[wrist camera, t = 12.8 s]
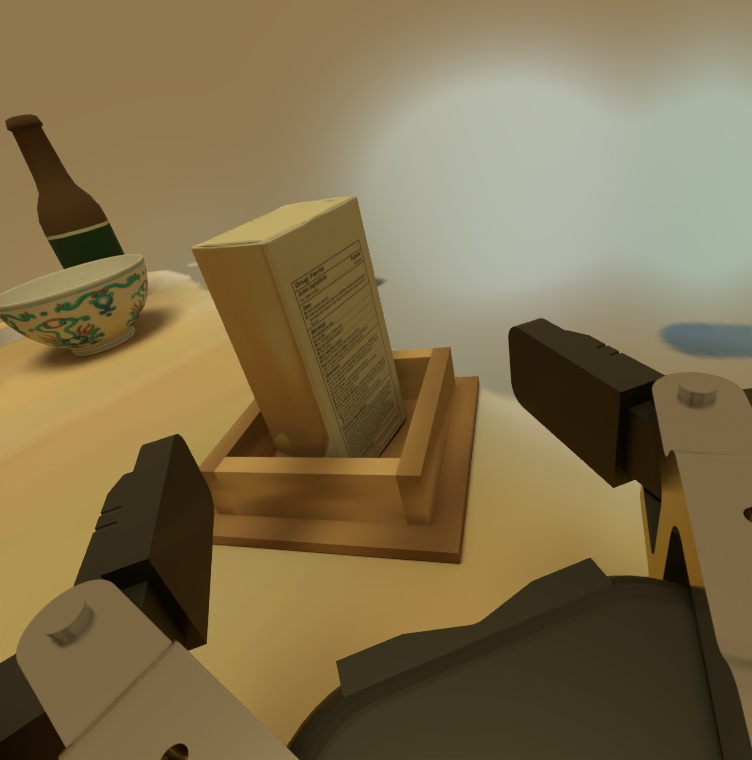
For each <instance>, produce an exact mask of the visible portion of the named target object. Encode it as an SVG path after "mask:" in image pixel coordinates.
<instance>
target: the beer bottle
mask: <svg viewBox="0 0 752 760" xmlns="http://www.w3.org/2000/svg"><path fill="white" fill-rule="evenodd" d="M42 125H43V123H42V122H41V121H40V120H39V119H38V117H37V116H35V115H31V114H29V115H20V116H15V117H11V118H9V119H7V120H6V126H7V129H8V130H9V131H11V132H12V133H13V135H14V137H15V139H16V141H17V143H18V145H19V148H20V150H21V152H22V154H23V156H24V158H25V161H26V163H27V165H28V167H29V169H30V171H31V173H32V175H33V178H34V180H35V183H36V186H37V189H38V192H39V198H38V206H37V211H38V216H39V223H40V225H41V227H42V229H43V231H44V233H45V236H46V238H47V239H48V241H49V243H50V245H51V246H52V248H53V250H54V252H55V254H56V256H57V257H58V259H59V261H60V263H61V265H62V266H63V268H64V269H67V268H70V267H74V266H77V265H81V264H84V263H88V262H92V261H96V260H100V259H104V258H109V257H114V256H119V255H125V254H124V252H123V250H122V248H121V246H120V244H119V242H118V240H117V238H116V236H115V234H114V231H113V229H112V227H111V225H110V223H109V221H108V219H107V217H106V216H105V214H104V212H103V210H102V209H101V207H100V206H99V204H98V203H96V201H95V200H94V199H93V198H92V197H91V196H90V195H89V194H88V193H86V192H85V191H83V190H82V189H81V188H80V187H78V186H77V185H76V184H75V183H74V182H73V180H72V179H71V177H70V176H69V174H68V173H67V171H66V170H65V168H64V166H63V164H62V163H61V161H60V159H59V157H58V156H57V154H56V152H55V150H54V149H53V147H52V145H51V143H50V142H49V140H48V138H47V136H46V135H45V133H44V131H43V129H42V128H41V127H42Z"/></svg>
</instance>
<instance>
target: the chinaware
mask: <svg viewBox="0 0 752 760" xmlns="http://www.w3.org/2000/svg"><path fill="white" fill-rule="evenodd" d="M147 291H148V280H147V272H146V266H145V262H144V259H143V256H142V255H140V254H127V255H119V256H114V257H109V258H104V259H100V260H96V261H92V262H88V263H84V264H81V265H77V266H74V267H70V268H67V269H64V270H61V271H58V272H55V273H52V274H49V275H46V276H43V277H40V278H37V279H34V280H32V281H29V282H27V283H24V284H22V285H19V286H17V287H14V288H12V289H10V290H8V291H6V292H3V293H2V294H0V319H1V320H2V321H4V322H5V323H6V324H7V325H9V326H10V327H11V328H13V329H14V330H15V331H17V332H19V333H20V334H22V335H24V336H25V337H27V338H30V339H32V340H34V341H37V342H39V343H42V344H45V345H49V346H53V347H59V348H67V349H71V351H72V352H73V354H74V355H76V356H87V355H92V354H96V353H100V352H103V351H106V350H108V349H111V348H113V347H116V346H118V345H120V344H122V343H123V342H125V341H127V340H128V339H130V338H131V337H132V336H133V335H134V334H135V332H136V331H135V328H134V326H133V324H134V323H135V322H136V320H137V319H138V317H139V316H140V314H141V312H142V310H143V307H144V305H145V302H146V298H147Z"/></svg>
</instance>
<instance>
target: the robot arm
mask: <svg viewBox="0 0 752 760" xmlns="http://www.w3.org/2000/svg"><path fill="white" fill-rule="evenodd" d="M508 337H509V338H508V340H509V355H510V370H511V383H512V388H513V391H514V394H515V396H516V398H517V400H518V402H519V403H520V404H521V406H522V407H524V408H525V409H526V410H527V411H528V412H529V413H530V414H531V415H532V416H534V417H535V418H536V419H537V420H538V421H539V422H540V423H541V424H542V425H544V426H545V427H546V428H547V429H548V430H549V431H550V432H551V433H553V434H554V435H555V436H556V437H557V438H558V439H559V440H560V441H561V442H563V443H564V444H565V445H566V446H567V447H568V448H569V449H570V450H571V451H573V452H574V453H575V454H576V455H577V456H578V457H579V458H580V459H582V460H583V461H584V462H585V463H586V464H587V465H588V466H589V467H590V468H592V469H593V470H594V471H595V472H596V473H597V474H598V475H599V476H601V477H602V478H603V479H604V480H605V481H606V482H607V483H608V484H609V485H611V486H612V487H613V488H615V487H617V486H620V485H623V484H625V483H628V482H630V481H633V480H636V481H638V482H639V483H640V484H641V491H640V502H641V510H642V519H643V527H644V535H645V544H646V552H647V561H648V571H649V577H641V576H630V575H628V576H606V575H605V574H604V573H603V572H602V570H601V569H600V568H599V567H598V566H597V565H596V563H595V562H594V561H593V560H592V559H591V558H588V559H586V560H583V561H581V562H578V563H576V564H573V565H571V566H568V567H566V568H563V569H561V570H559V571H556V572H554V573H551V574H549V575H546V576H544V577H541V578H539V579H537V580H534V581H532V582H530V583H529V584H528V585H527V586H525V587H524V588H523V589H521V590H520V591H519V592H518V593H516V594H515V595H514V596H513V597H511V598H510V599H509V600H507V601H506V602H505V603H504V604H502V605H501V606H500V607H499V608H497V609H496V610H495V611H493V612H492V613H491V614H490V615H488V616H487V617H486V618H484V619H483V620H482V621H480V622H478V623H476V624H473V625H468V626H460V627H453V628H445V629H438V630H430V631H423V632H415V633H407V634H402V635H399V636H397V637H394V638H392V639H390V640H387V641H385V642H382V643H380V644H377V645H375V646H372V647H370V648H367V649H365V650H363V651H360V652H358V653H355V654H353V655H350V656H348V657H345V658H343V659H341V660H338V661H336V663H337V668H338V673H339V678H340V683H341V685H340V686H339V687H338V688H337V689H335V690H334V691H333V692H332V693H330V694H329V695H328V696H327V697H326V698H325V699H324V700H323V701H322V702H321V703H320V704H319V705H318V706H317V707H316V708H315V709H314V710H313V711H312V712H311V714H310V715H309V716H308V717H307V718H306V720H305V721H304V722H303V723H302V724H301V726H300V727H299V729H298V730H297V732H296V733H295V735H294V736H293V738H292V739H291V740H290V742H289V744H288V745H287V747H286V746H285V745H284V744H282V743H281V742H280V741H279V740H278V739H277V738H276V737H275V736H274V735H273V734H272V733H271V732H270V731H269V730H268V729H267V728H266V727H265V726H264V725H263V724H262V723H261V722H260V721H259V720H258V719H257V718H256V717H255V716H254V715H253V714H252V713H251V712H250V711H249V710H248V709H247V708H246V707H245V706H244V705H243V704H242V703H241V702H240V701H239V700H238V699H237V698H236V697H235V696H233V695H232V694H231V693H230V692H229V691H228V690H227V689H226V688H225V687H224V686H223V685H222V684H221V683H220V682H219V681H218V680H217V679H216V678H215V677H214V676H213V675H212V674H211V673H210V672H209V671H208V670H207V669H206V668H205V667H204V666H203V665H202V664H201V663H200V662H199V661H198V660H197V659H196V658H195V657H194V656H193V655H192V654H191V653H190V652H189V650H192V649H194V648H197V647H200V646H202V645H205V644H207V630H208V613H209V596H210V579H211V562H212V545H213V528H214V503H213V498H212V495H211V491H210V489H209V486H208V484H207V482H206V480H205V479H204V477H203V475H202V473H201V471H200V469H199V467H198V465H197V463H196V461H195V459H194V458H193V456H192V454H191V452H190V450H189V448H188V446H187V444H186V442H185V441H184V439H183V438H182V437H181V436H180V435H179V434H175V435H172V436H169V437H166V438H163V439H160V440H157V441H154V442H151V443H147V444H144V445H142V447H141V449H140V452H139V455H138V458H137V461H136V464H135V467H134V470H133V472H131V473H127V474H124V475H123V476H122V477H121V479H120V480H119V481H118V482H117V483H116V485H115V486H114V487H113V488H112V489H111V491H110V492H109V493H108V495H107V497H106V500H105V503H104V505H103V508H102V511H101V515H102V516H100V517H99V519H98V522H97V524H96V527H95V530H96V532H94V533H93V535H92V538H91V540H90V543H89V546H88V548H87V551H86V554H85V556H84V559H83V562H82V565H81V567H80V570H79V573H78V575H77V578H76V581H75V583H74V586H73V587H72V588H70V589H68V590H67V591H65V592H64V593H62V594H60V595H59V596H58V597H56V598H55V599H53V600H52V601H51V602H50V603H49V604H47V605H46V606H45V607H44V608H43V609H42V610H41V611H40V612H39V613H38V614H37V615H36V616H35V617H34V619H33V620H32V621H31V622H30V624H29V625H28V626H27V628H26V629H25V631H24V633H23V634H22V636H21V638H20V641H19V643H18V646H17V651H16V654H15V655H13V656H11V657H10V658H8V659H7V660H5V661H3V662H2V663H0V760H752V388H751V389H741V388H740V387H739V386H738V385H736V384H735V383H733V382H731V381H729V380H727V379H724V378H722V377H719V376H715V375H711V374H706V373H695V372H684V373H675V374H670V375H667V376H665V375H663V374H661V373H659V372H657V371H656V370H654V369H652V368H650V367H648V366H646V365H644V364H642V363H640V362H638V361H636V360H635V359H633V358H631V357H629V356H627V355H625V354H623V353H621V354H620V353H619V351H617V350H616V349H614V348H612V347H610V346H605V344H604V343H602V342H600V341H599V340H597V339H595V338H593V337H591V336H589V335H585V334H581V333H576V332H572V331H565V330H563V329H561V328H560V327H558V326H556V325H554V324H552V323H550V322H549V321H547V320H545V319H542V318H540V319H536V320H534V321H530V322H527V323H524V324H521V325H518V326H514V327H512V328H511V329H510V331H509V336H508Z"/></svg>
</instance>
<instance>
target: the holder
mask: <svg viewBox="0 0 752 760" xmlns="http://www.w3.org/2000/svg"><path fill="white" fill-rule="evenodd" d="M392 355H393V359H394V364H395V368H396V372H397V377H398V382H399V385H400V390H401V394H402V399H403V403H404V407H405V412H406V418H405V420H404V421H403V423H402V424H401V425H400V427H399V428H398V430H397V431H396V433H395V434H394V435H393V437H392V438H391V440H390V441H389V442H388V444H387V445H386V446H385V448H384V449H383V450H382V452H381V453H380V454H379V456H378V457H377V458H307V457H280V455H279V453H278V451H277V448H276V446H275V444H274V441H273V439H272V436H271V434H270V432H269V429H268V427H267V424H266V422H265V420H264V418H263V415H262V413H261V411H260V408H259V406H258V404H257V401H256V399H254V400H253V402H252V403H251V404H250V405H249V406H248V408H247V409H246V410H245V411H244V413H243V414H242V415H241V416H240V417H239V419H238V420H237V421H236V422H235V424H234V425H233V426H232V427H231V429H230V430H229V431H228V432H227V433H226V435H225V436H224V437H223V438H222V440H221V441H220V442H219V443H218V444H217V446H216V447H215V448H214V449H213V451H212V452H211V453H210V454H209V456H208V457H207V458H206V459H205V460H204V462H203V463H202V464H201V465H200V467H199V469H200V471H201V473H202V475H203V477H204V479H205V480H206V482H207V484H208V486H209V489H210V491H211V495H212V498H213V503H214V528H213V544H220V545H233V546H245V547H258V548H271V549H283V550H296V551H309V552H321V553H334V554H347V555H359V556H372V557H384V558H397V559H410V560H422V561H435V562H448V563H460V560H461V551H462V541H463V532H464V523H465V513H466V504H467V495H468V485H469V476H470V467H471V457H472V448H473V439H474V429H475V420H476V411H477V401H478V392H479V377H478V376H472V377H454V370H453V363H452V356H451V349H450V347H446V348H432V349H431V348H430V349H416V350H404V351H403V350H402V351H392Z"/></svg>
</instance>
